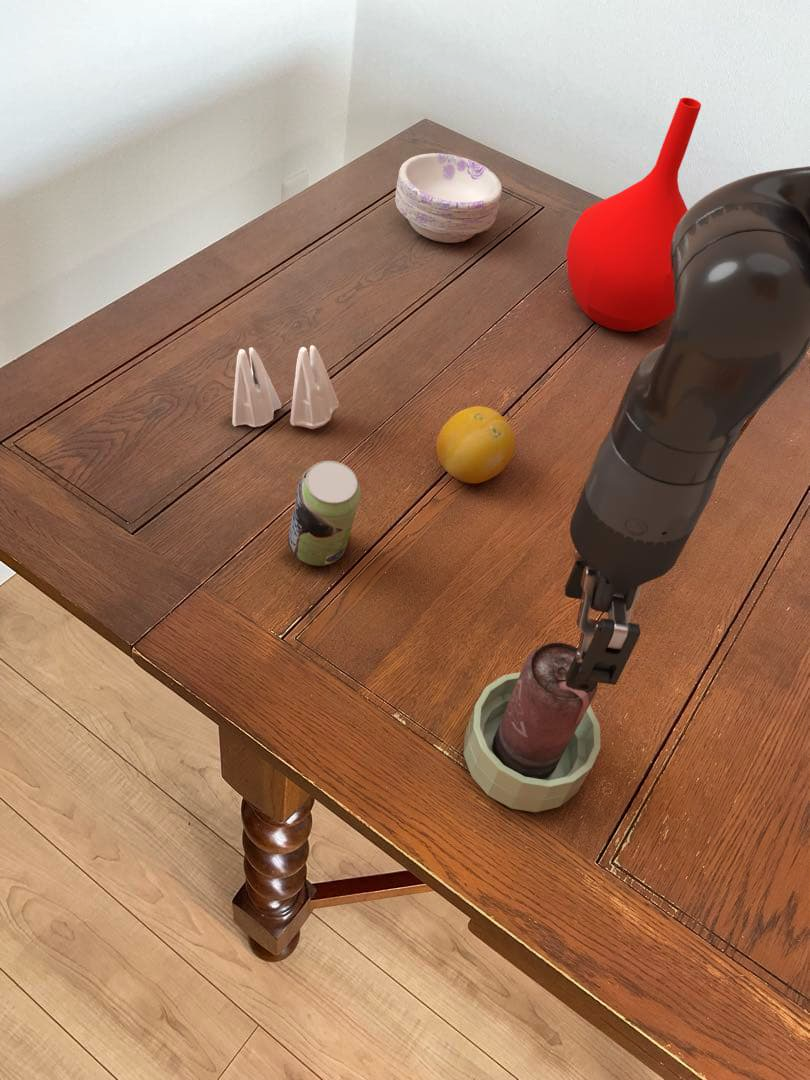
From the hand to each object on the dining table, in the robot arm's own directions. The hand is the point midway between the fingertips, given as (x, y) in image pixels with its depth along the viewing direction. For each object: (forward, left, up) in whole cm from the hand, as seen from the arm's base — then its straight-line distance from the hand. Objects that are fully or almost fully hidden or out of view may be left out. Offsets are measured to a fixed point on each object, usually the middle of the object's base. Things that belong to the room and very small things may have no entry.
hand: (578, 638), depth 75 cm
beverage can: (+22, -20, -19) cm, 35 cm away
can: (0, 0, -18) cm, 18 cm away
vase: (-12, -73, -19) cm, 76 cm away
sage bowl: (0, 0, -19) cm, 19 cm away
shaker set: (+29, -39, -19) cm, 52 cm away
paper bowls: (+14, -87, -19) cm, 90 cm away
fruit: (+7, -36, -19) cm, 41 cm away
